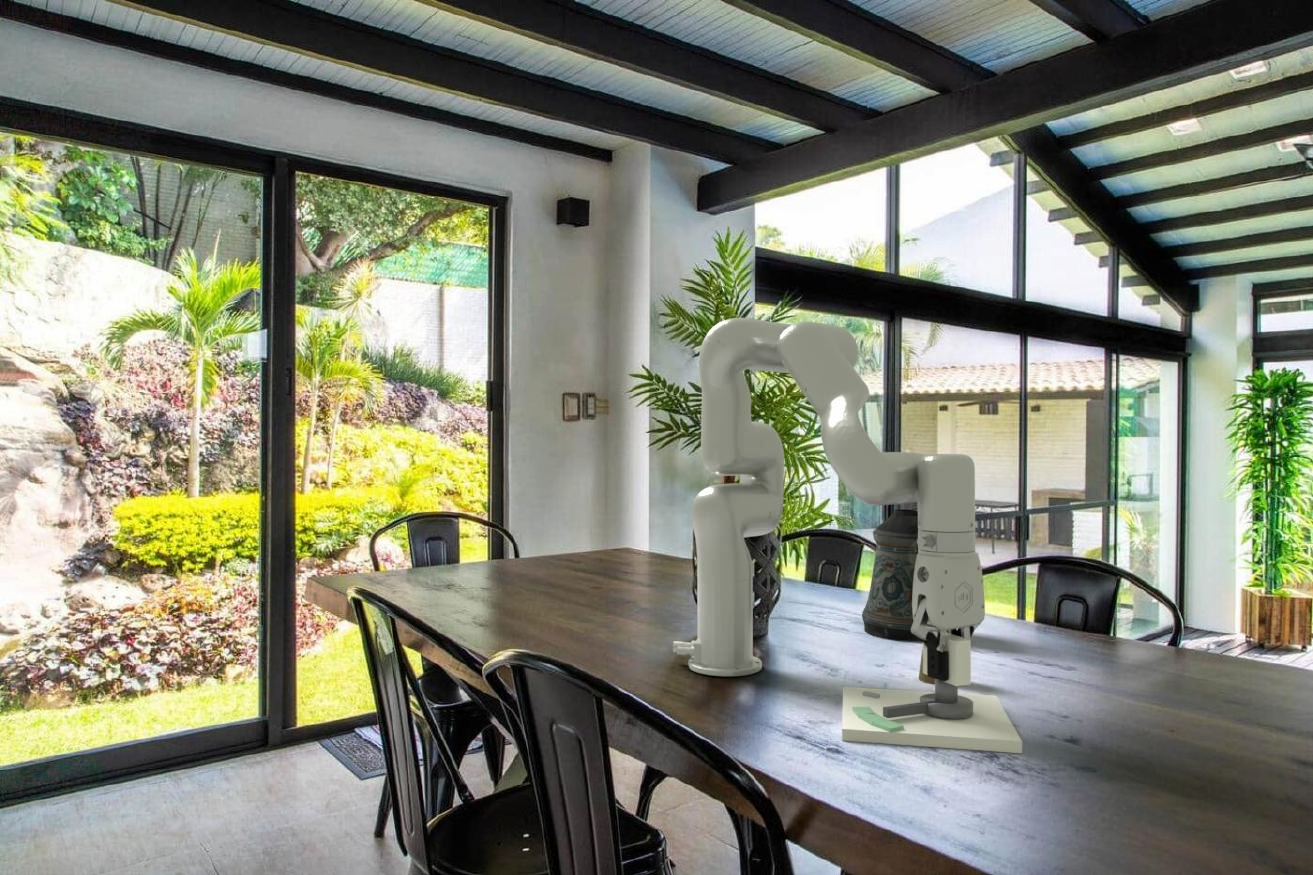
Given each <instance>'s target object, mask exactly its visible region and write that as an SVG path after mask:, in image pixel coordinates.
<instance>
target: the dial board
mask: <svg viewBox="0 0 1313 875" xmlns="http://www.w3.org/2000/svg"><path fill="white" fill-rule="evenodd" d="M931 693H935V691H922V690H921V691H920V690H904V689H901V690H900V689H887V688H886V689H884V688H872V687H871V688H869V687H868V688H867V687H853V686H852V687H851V686H842V714H841V715H842V718H841V719H842V720H841V721H842V723H841V741H844V742H858V743H860V742H861V743H874V744H887V745H901V746H916V747H930V748H931V747H932V748H942V749H943V748H945V749H954V750H955V749H959V750H970V751H971V750H973V751H983V752H984V751H986V752H999V753H1012V754H1013V753H1014V754H1023V740H1022V739H1021V737H1020V735H1019V734H1018V732H1017V729H1016V728H1015V726H1014V725H1013V723H1012V721H1011V720H1010V718H1009V716H1008V714H1007V713H1006V710H1005V709H1004V708H1003V706H1002V704H1001V702H1000V700H999V698H998V697H997V695H988V694H987V695H986V694H974V693H973V694H971V693H958V695H959V696H963V697H966V698H968V699H970V700H972V701H973V715H972V716H970V717H967V718H959V719H950V718H941V717H935V716H931V715H928V714H926V713H924V714H916V715H909V716H901V717H894V718H886V717H884V716H883V707H888V706H896V705H904V704H912V703H920V697H921V696H923V695H925V694H931Z"/></svg>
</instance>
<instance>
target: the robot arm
mask: <svg viewBox="0 0 1313 875" xmlns="http://www.w3.org/2000/svg"><path fill="white" fill-rule="evenodd" d="M858 357H859V347H858V344H857V341H856V340H855V337H854V336H853V334H852V333H851V332H850V331H849V330H847V329H845V328H844V327H842V326H839V325H835V324H830V323H829V324H828V323H823V322H815V321H799V322H796V323H792V324H791V323H782V322H775V321H769V320H762V319H758V318H757V319H756V318H750V317H749V318H748V317H732V318H731V317H730V318H728V319H725V320H721V321H719V322H718V323H717V324H715V325H714V326H713V327H712V328H711V329H709V331H708V332H707V334H706V335H705V336H704V339H703V341H702V343H701V346H700V351H699V357H698V358H699V359H698V368H699V379H700V386H701V387H700V388H701V415H700V416H701V421H700V425H701V426H700V429H701V430H700V432H701V433H700V454H701V461H702V464H703V466H704V468H705V469H706V470H707V471H708V472H709V473H711V474H713V475H716V476H722V477H724V476H725V477H728V476H729V477H731V476H732V477H733V476H734V477H735V476H739V483H738V482H736V483H735V482H734V483H719V484H718V483H717V484H714V485H710V486H707V487H705V488H704V489H702V490H700V491H699V492H698V493H697V495H696V496H695V497H694V498H693V502H692V504H691V505H692V506H691V510H690V511H691V513H690V514H691V516H690V517H691V523H692V528H693V532H694V538H695V547H696V568H697V570H696V571H697V572H696V577H697V584H696V586H697V590H696V591H697V604H696V605H697V637H696V638H695V640H694V639H693V640H691V642H690V641H689V642H688V641H687V642H686V641H677V640H674V641H673V642H672V643H673V644H672V652H673V653H677V655H682V656H685V655H688V656H690V658H689V659H688V669H690V670H691V671H693V672H695V673H698V674H702V675H706V676H714V677H741V676H748V675H753V674H756V673H758V672H760V671H761V670H762V668H763V662H762V660H761V659H760V658H758V657H756V656H754V653H753V651H754V650H753V648H754V641H753V638H754V637H753V634H754V633H753V632H754V631H753V630H754V628H753V627H754V625H753V624H754V618H753V617H754V616H753V611H754V610H753V606H754V605H753V603H754V602H753V598H754V597H753V596H754V595H753V594H754V593H753V592H754V591H753V589H754V588H753V587H754V586H753V584H754V583H753V582H754V581H753V580H754V578H753V570H754V569H753V560H752V557H751V554H750V550H749V549H748V546H747V543H746V540H745V538H751V537H759V536H765V535H768V534H770V533H772V532H773V531H774V530H776V528H777V527H778V525H779V524H780V522H781V519H782V516H783V510H784V480H785V478H784V476H785V473H784V472H785V453H784V446H783V442H782V438H781V437H780V436H779V435H780V434H779V433H778V432H777V431H776V430H775V428H774V427H772V426H771V425H769V424H767V423H765V422H762V421H752V398H751V397H752V395H751V392H750V391H751V390H750V387H749V384H748V382H747V380H746V378H745V377H744V375H743V372H744V371H746V370H753V371H760V372H772V373H773V372H774V373H782V374H783V373H784V374H785V373H786V374H789V375H790V376H791V378H792V379H793V380H794V382H795V383H796V385H797V386H798V388H799V389H800V391H801V392H802V394H803V395H804V396H805V399H806V400H808V402H809V404H810V405H811V407H812V408H813V410H814V411H815V413H816V414H817V415H818V417H819V418H820V419H819V420H820V437H821V442H822V447H823V451H824V454H825V457H826V459H827V461H828V463H829V464H830V466H831V468H832V469H833V471H834V473H836V475H837V477H838V478H839V479H840V481H841V482H842V484H843V485H844V487H845V488H846V489H847V490H848V491H849V493H850V494H851V495H852V496H853V497H854V498H855V499H857V500H858V501H859V502H861V503H863V504H865V505H868V506H874V507H879V506H891V505H905V504H915V503H917V511H918V540H917V544H918V553H919V554H917V557H916V563H915V569H914V579H913V594H912V610H913V619H914V621H913V624H912V627H911V632H912V633H913V634H914V635H916V636H917V637H920V639H921V640H922V641H921V642H922V644H923V643H924V647H925V648H927V675H928V676H929V677H931V678H934V679H938V680H942V681H947V680H948V679H949V654H948V651H944V650H945V647H946V631H947V630H948V633H950V634H953V635H956V636H959V637H963V638H966V639H969V640H971V638H972V637H973V634H974V632H975V630H976V629H977V628H978V627H980V626H981V624H982V623H983V621H984V620H985V615H986V609H985V608H986V604H985V602H986V600H985V588H984V578H983V577H984V576H983V570H982V565H981V559H980V556H979V552H976V475H975V474H976V472H975V471H976V469H975V467H976V466H975V462H974V460H973V458H972V457H970V456H969V455H966V454H962V453H961V454H960V453H934V454H933V453H931V454H924V453H917V452H907V451H901V452H900V451H889V452H888V451H885V452H884V451H882V452H881V451H880V450H879V448H878V447H877V446H876V444H875V443H874V442H873V441H872V439H871V437H870V435H868V433H867V432H866V430H865V429H864V427H863V424H862V423H861V419H860V416H859V411H861V410H862V408H864V406H865V405H866V403H867V401H868V399H869V396H870V391H869V390H870V389H869V387H868V385H867V384H866V382H865V381H864V380H863V378H862V377H861V376H860V374H859V373H858V372H857V370H856V369H855V368H854V367H856V364H857V362H858V359H859V358H858ZM933 631H936V632H937V637H936V636H935V635H934V633H933Z"/></svg>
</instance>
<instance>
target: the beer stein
mask: <svg viewBox="0 0 1313 875" xmlns="http://www.w3.org/2000/svg"><path fill="white" fill-rule="evenodd" d="M872 536H873V540H874V541H875V545H876V546H875V555H874V561H873V562H874V563H873V568H872V576H871V582H870V589H869V593H868V596H867V601H866V604H865V607H864V608H863V610H862V612H861V617H862V621H863V626H864V628H863V629H864V633H865V634H868V635H869V634H870V635H869V636H871V635H872V636H871V637H875V636H876V638H879V639H883V640H891V641H899V642H900V641H903V642H922V640H921V639H920V637H917V636H916V635H914V634H913V633H912V632H911V627H912V624H913V621H914V619H913V610H912V594H913V579H914V569H915V563H916V557H917V554H919V553H918V544H917V540H918V509H917V510H915V509H894V511H893V513H892V514H891V515H890V516H889V517H888V518H887V519H886V520H884V521H883V522H882V523H880V524H879V525H877V527H876V528H875V529H874V530H873V531H872Z"/></svg>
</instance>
